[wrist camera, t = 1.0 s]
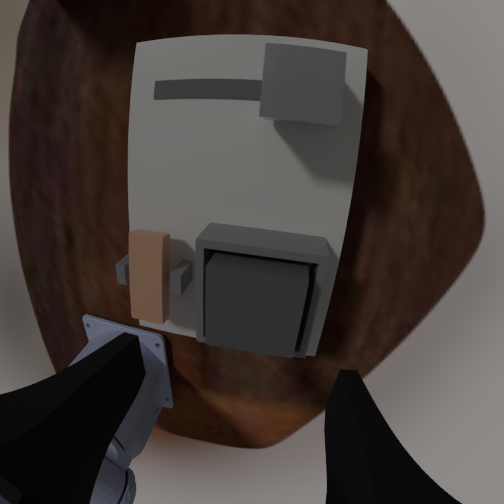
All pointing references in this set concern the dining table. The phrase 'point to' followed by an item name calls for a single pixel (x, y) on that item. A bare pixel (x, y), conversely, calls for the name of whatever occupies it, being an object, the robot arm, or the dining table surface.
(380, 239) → the dining table surface
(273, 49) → the slider knob
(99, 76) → the dining table surface
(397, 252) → the dining table surface
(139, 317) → the rocker switch
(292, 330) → the push button
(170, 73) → the control panel
